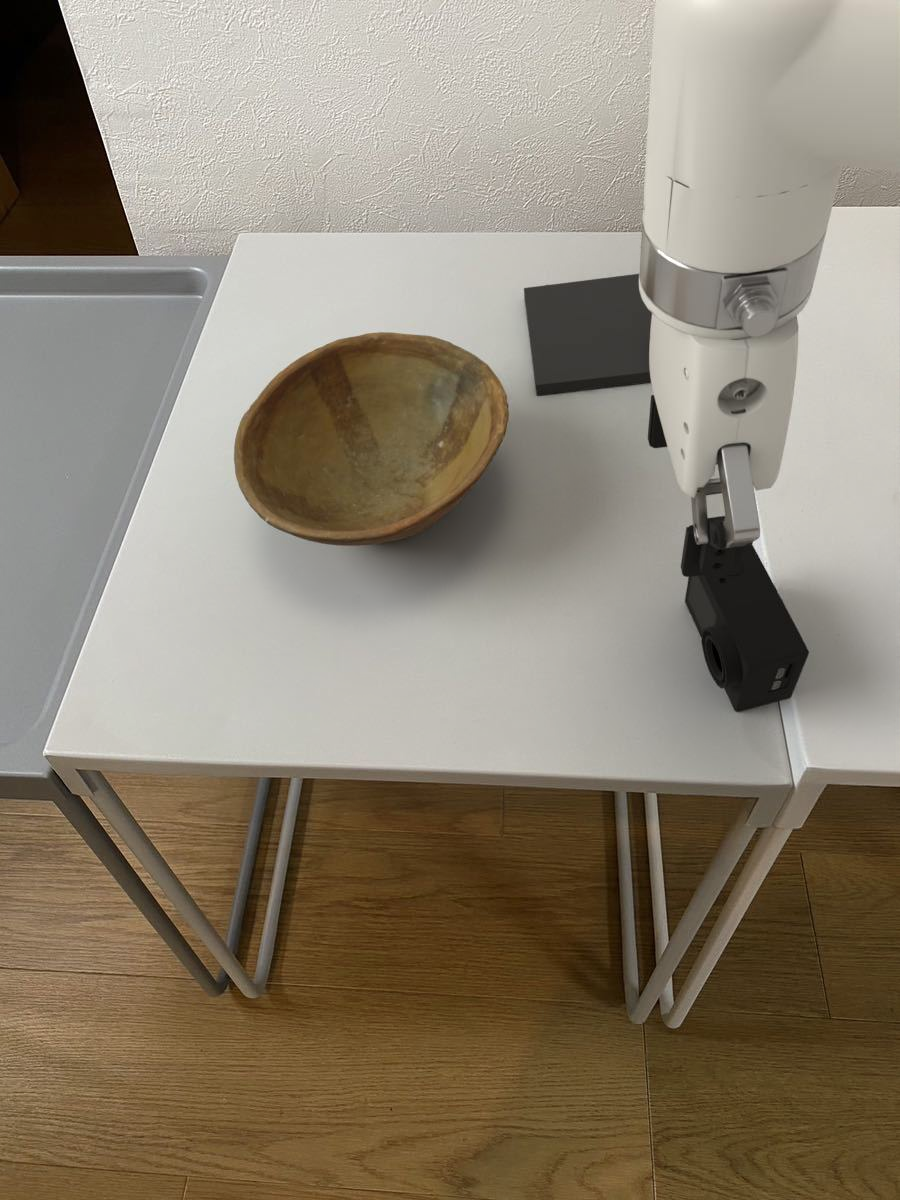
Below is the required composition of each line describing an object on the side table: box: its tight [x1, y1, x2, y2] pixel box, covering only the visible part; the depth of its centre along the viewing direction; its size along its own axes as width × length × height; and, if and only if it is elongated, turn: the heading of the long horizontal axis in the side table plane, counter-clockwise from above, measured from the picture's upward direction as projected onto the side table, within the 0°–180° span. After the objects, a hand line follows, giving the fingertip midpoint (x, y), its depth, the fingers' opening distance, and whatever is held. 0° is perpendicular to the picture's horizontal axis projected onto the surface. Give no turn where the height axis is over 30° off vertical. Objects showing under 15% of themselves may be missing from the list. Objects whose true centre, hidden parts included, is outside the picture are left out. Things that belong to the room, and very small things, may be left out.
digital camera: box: [684, 544, 810, 713], centre depth 68 cm, size 10×5×7 cm, turn 13°
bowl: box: [233, 331, 510, 547], centre depth 79 cm, size 22×23×10 cm
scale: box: [523, 273, 652, 396], centre depth 90 cm, size 17×14×3 cm
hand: (691, 502), depth 55 cm, fingers open, 9 cm apart
